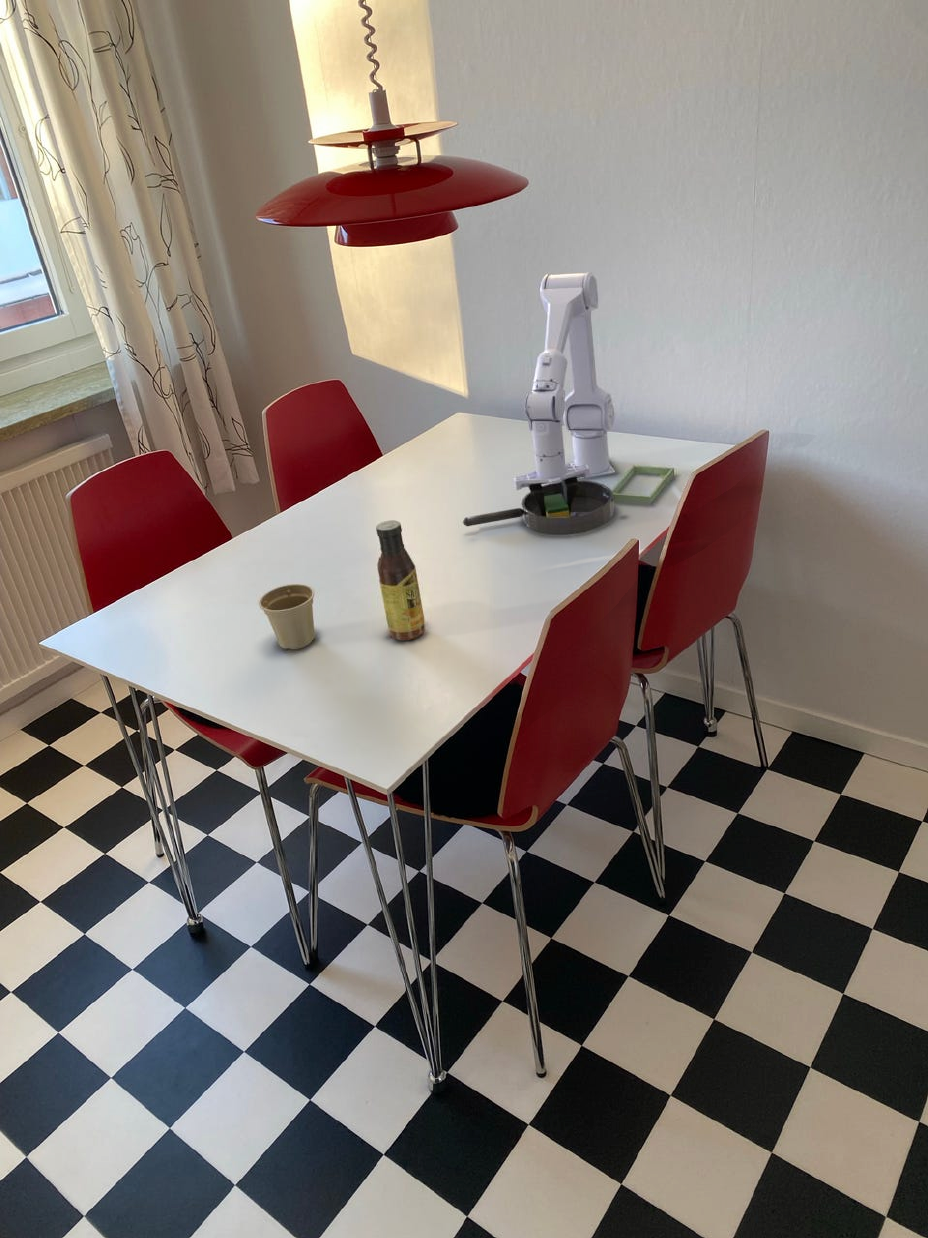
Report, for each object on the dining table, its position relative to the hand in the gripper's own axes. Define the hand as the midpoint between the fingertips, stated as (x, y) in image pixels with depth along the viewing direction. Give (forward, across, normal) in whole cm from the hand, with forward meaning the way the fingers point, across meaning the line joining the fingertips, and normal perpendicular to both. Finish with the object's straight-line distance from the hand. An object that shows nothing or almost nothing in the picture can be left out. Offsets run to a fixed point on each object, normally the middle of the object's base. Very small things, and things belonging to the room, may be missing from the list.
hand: (555, 515), depth 195 cm
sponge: (+1, 0, 0) cm, 1 cm away
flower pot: (+2, -51, -29) cm, 59 cm away
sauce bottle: (+2, -32, -33) cm, 46 cm away
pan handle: (-1, -12, +1) cm, 12 cm away
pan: (+1, +3, +1) cm, 3 cm away
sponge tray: (+1, +20, +8) cm, 21 cm away
